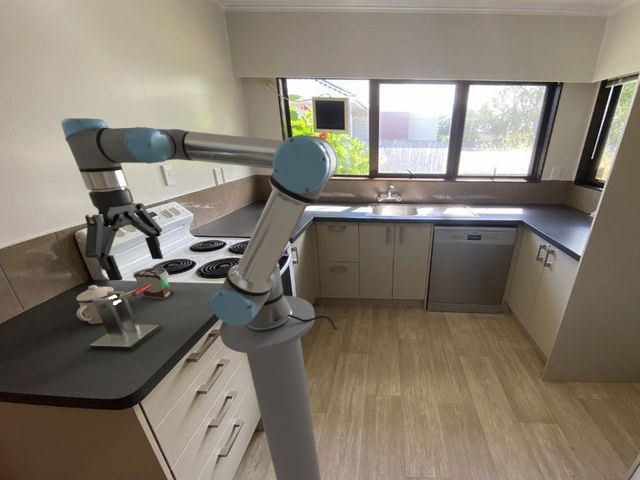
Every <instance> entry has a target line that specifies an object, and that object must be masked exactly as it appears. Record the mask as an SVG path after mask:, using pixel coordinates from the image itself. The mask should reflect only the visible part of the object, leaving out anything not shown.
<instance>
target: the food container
mask: <svg viewBox="0 0 640 480" xmlns="http://www.w3.org/2000/svg"><path fill="white" fill-rule="evenodd" d="M132 275H133V279H134V278H135V280H136V283H137V285H138V288H140V287H142V286H144V285H145V284H147V283H149V284H151V288H149V289H147V290H146V291H144V292H142V293H141V294H142V295H143V298H151V299H161V300H166V299H169V297H170V296H171V290H170V285H169V280H168V277H169V273H168V271H167V270H166V269H165V268H163V267H149V268H143V269H139V270H137V271H134V272H132Z"/></svg>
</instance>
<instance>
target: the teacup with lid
mask: <svg viewBox="0 0 640 480" xmlns="http://www.w3.org/2000/svg"><path fill="white" fill-rule="evenodd" d="M109 291H116V290H115V288H113V287H112V286H98V285H95V284H92V285H89V286H88V289H87V290H85V291H83V292H81V293H79V294H78V295H77V296H76V300H75V301H76V303H78V304H79V308H78V309H77V310H76V317H77V318H78V319H79V320H80V321H82V322H87V323H88V324H90V325H98V324H103V322H102V320H101V317H100V315H99V313H98V311H97V309H96V306H95V304H94V302H93V300H94V299H95V298H107V297H108V295H107V292H109Z"/></svg>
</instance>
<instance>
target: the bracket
mask: <svg viewBox="0 0 640 480" xmlns="http://www.w3.org/2000/svg"><path fill="white" fill-rule="evenodd" d="M115 294H116V295H117V296H120V295H123V294H126V292H125V291H124V290H115V291H109V292H107V295H108V297H109V296H112V295H115ZM93 302H94V304H95V306H96V309H97V311H98V313H99V315H100V317H101V320H102V322H103V323H102V324H103V326H104V328H105V330H106V333H105V334H104V335H103V336H101V337H100V338H98V339H96V340H95V341H94V342H92V343H91V344H89V347H90V349H91V350H98V351H99V350H103V351H133V350H135V349H136V348H138V346H140V345H142V344H143V343H144V342H145V341H146V340H148V339H149V338H150V337H151V336H153V334H155V333H156V332H157V331H158V330H160V326H159V324H139V323H138V322H137V319H136V317H135V314H134V311H133V310H132V307H131V304H130V302H129V300H128V297H127V298H124V299H121V302H119V303H117V304H115V305H114V304H113V302H112V299H111V298H95V299H94V300H93Z"/></svg>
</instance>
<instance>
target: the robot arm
mask: <svg viewBox="0 0 640 480" xmlns="http://www.w3.org/2000/svg"><path fill="white" fill-rule="evenodd" d="M60 123H61V127H62V130H63V133H64V137H65V139H64V140H65V141H66V142H67V145H68V147H69V149H70V152H71V154H72V156H73V158H74V161H75V163H76V166H77V169H78V170H79V172H80V176H81V178H82V180H83V183H84V185H85V187H86V189H87V190H88V191H89V192H88V196H89V199H90V200H91V203H92V206H93V207H94V208H95V209H97V210H98V213H97V214H86V215H85V216H84V219H85V221H86V236H85V237H86V239H85V252H84V256H85V257H86V258H89V259H90V258H91V259H94V258H96V259H97V261H98V263H99V266H100V268H101V269H102V270H103V271H105V273H106V275H107V278H108V280H109V281H111V282H113V281H116V282H117V281H118V282H119V281H123V276H122V274H121V272H120V269H119V266H118V264H117V261H116V259H115V257H114V255H113V254H110V253H111V250H112V247H113V243H114V241H115V237H116V234H117V232H118V231H120V228H121V229H123V228H124V227H126V226H132V227H133V228H134V229H136V230H137V231H139V232H140V233H142V234H144V235H145V236H147V237H145V238H144V239H145V242H146V244H147V247H148V251H149V254H150V256H151V259H152V260H162V259H164V256H163V253H162V250H161V242H160V239H159V237H160V236H161V235H162V234H161V233H162V232H163V228H162V227H161V226H160V225H159V224H158V223H157V222H156V220H155V219H154V218H153V216H151V214H150V213H149V212H148V211H147V209H146V207H145V204H144V203H142V202H141V203H140V202H139V203H138V202H136V203H135V202H134V198H133V196H132V195H133V194H132V192H131V189H129V188H128V187H129V183H128V180H127V177H126V175H125V173H124V170H123V166H122V164H158V163H164V162H166V161H173V160H174V161H175V160H179V161H180V160H181V161H188V162H189V161H192V162H203V163H204V162H205V163H213V164H223V165H230V166H231V165H232V166H241V167H242V166H244V167H252V168H261V169H271V170H273V171H272V173H271V175H270V178H269V180H268V181H269V185H270V186H271V189H272V191H271V193H270V195H269V197H268V199H267V201H266V204H265V206H264V208H263V210H262V213H261V215H260V217H259V219H258V221H257V223H256V226H255V228H254V230H253V232H252V235H251V237H250V239H249V241H248V244H247V245H246V248H245V250H244V252H243V255H242V256H241V258H240V259H239V260H238V261H237V264H236V265H233V266H231V267H230V269H229V270H228V273H227V274H226V277H225V278H224V281H223V283H222V285H221V287H220V288H219V289H218V290H216V291H215V292H214V293H213V295H212V296H211V298H210V302H209V304H210V308H211V311H212V312H213V313H214V315H215V317H217V318H218V319H219V320H220V321H221V322H222V323H223V322H225V323H228V324H231V325H246V327H247V328H248V329H249V330H252V331H256V332H265V331H271V330H274V329H277V328H279V327H281V326H283V325H285V324H286V323H287V322H288V321H289V320H290V319H291V317H292V318H295V319H298V320H300V321H304V322H307V321H312V320H314V321H315V320H317V319H321V318H323V319H327V320H328V321H329V322H330V323H331V326H332V327H333V329H334V330H335V331H336V330H338V328H337V327H336V325H335V322H334V321H333V319H332V318H331V317H330V316H328V315H319V316H318V315H317V316H315V317H314V318H312V319H307V320H304V319H301V318H298V317H295V316H292V310H291V307H290V305H289V304H288V302H287V300H286V299H285V297H284V296H285V294H284V288H283V281H282V277H281V268H280V264H279V261H280V259H281V257H282V256H283V254H284V251H285V250H286V248H287V246H288V244H289V242H290V240H291V238H292V236H293V234H294V232H295V230H296V228H297V226H298V224H299V222H300V220H301V218H302V216H303V214H304V212H305V211H306V208H307V207H310V206H315V204H316V203H317V201H318V200H319V198H320V195H321V193H322V191H323V189H324V188H325V186H326V184H327V182H328V181H329V180H330V179H331V178H333V176H334V175H335V173H336V172H337V169H338V167H339V166H338V165H339V159H338V158H339V157H338V154H337V151H336V149H335V147H334V146H333V145H332V144H331V142H330V141H328V140H327V139H325V138H323V137H320V136H315V135H304V134H298V135H294V136H291V137H287V139H285V140H282V139H281V140H279V139H278V140H277V139H268V138H259V137H249V136H239V135H230V134H220V133H211V132H209V133H208V132H201V131H189V130H184V129H178V128H171V129H167V128H166V129H165V128H153V127H145V126H135V127H120V128H118V127H117V128H116V127H115V128H114V127H113V128H111V127H109V126H108V124H107V122H106V121H105V120H104V119H101V118H85V117H83V118H80V117H79V118H75V117H73V118H72V117H71V118H63V119H62V120H61V122H60ZM127 186H128V187H127Z"/></svg>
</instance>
